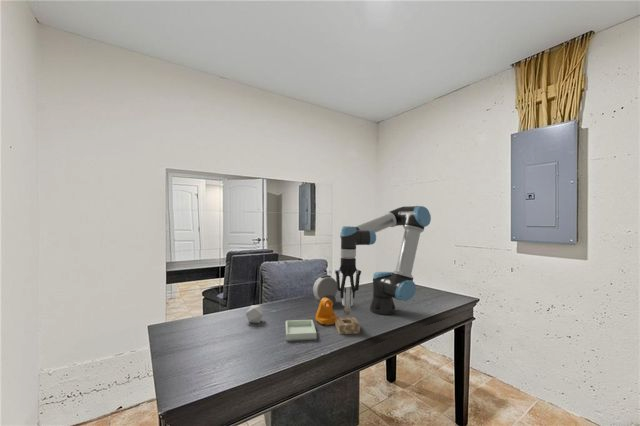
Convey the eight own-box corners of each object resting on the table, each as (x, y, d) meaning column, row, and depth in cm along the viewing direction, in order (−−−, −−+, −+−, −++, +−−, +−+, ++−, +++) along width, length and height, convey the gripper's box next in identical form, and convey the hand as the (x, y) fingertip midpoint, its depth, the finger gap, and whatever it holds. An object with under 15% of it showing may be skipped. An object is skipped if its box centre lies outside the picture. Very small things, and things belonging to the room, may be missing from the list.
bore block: (354, 325, 141) (354, 317, 142) (359, 333, 132) (360, 324, 132) (335, 325, 140) (335, 318, 140) (339, 334, 130) (339, 325, 130)
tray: (312, 325, 140) (312, 319, 140) (316, 339, 124) (316, 332, 124) (285, 326, 138) (285, 320, 138) (286, 340, 122) (286, 334, 122)
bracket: (321, 326, 140) (322, 302, 140) (315, 321, 146) (315, 298, 146) (339, 322, 145) (340, 299, 145) (332, 318, 151) (332, 296, 151)
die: (266, 320, 148) (258, 303, 151) (267, 317, 140) (259, 299, 144) (251, 328, 144) (243, 310, 148) (251, 325, 137) (243, 307, 140)
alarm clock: (331, 299, 185) (331, 272, 186) (340, 303, 177) (340, 275, 177) (310, 303, 177) (311, 274, 177) (318, 307, 168) (319, 277, 168)
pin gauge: (349, 312, 138) (349, 286, 138) (351, 315, 134) (351, 288, 135) (343, 313, 137) (343, 287, 137) (344, 315, 134) (345, 288, 134)
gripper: (361, 256, 141) (360, 302, 141) (330, 256, 139) (329, 302, 138) (366, 258, 134) (365, 306, 133) (333, 258, 132) (332, 307, 131)
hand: (347, 304), depth 136 cm, fingers closed on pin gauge, 3 cm apart
